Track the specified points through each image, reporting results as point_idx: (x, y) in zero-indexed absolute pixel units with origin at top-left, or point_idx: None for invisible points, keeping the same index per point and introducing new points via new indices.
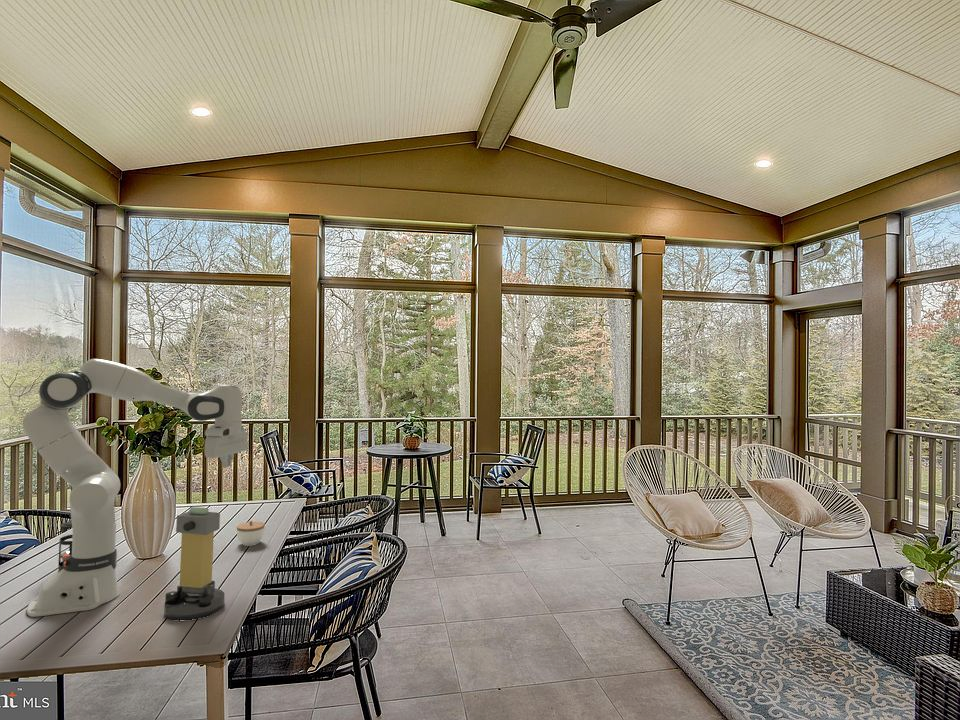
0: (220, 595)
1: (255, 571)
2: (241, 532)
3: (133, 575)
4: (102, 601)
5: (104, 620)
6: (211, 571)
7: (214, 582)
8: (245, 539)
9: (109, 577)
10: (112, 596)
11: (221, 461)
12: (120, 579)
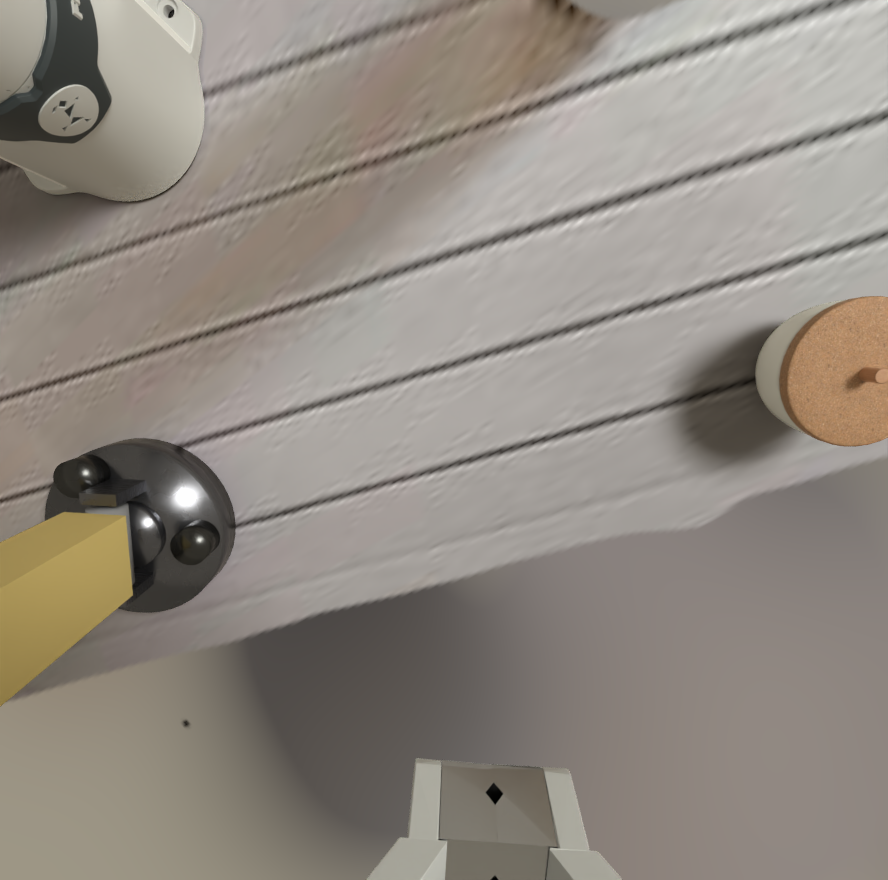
0: (176, 594)
1: (471, 549)
2: (779, 356)
3: (347, 87)
4: (81, 190)
5: (4, 299)
6: (104, 615)
7: (194, 564)
8: (758, 375)
9: (61, 158)
10: (121, 195)
11: (378, 867)
12: (298, 64)
